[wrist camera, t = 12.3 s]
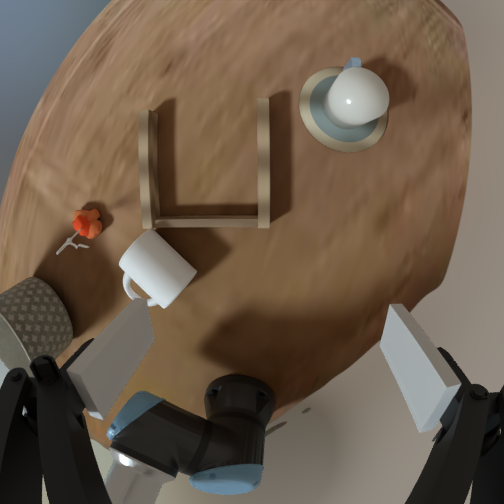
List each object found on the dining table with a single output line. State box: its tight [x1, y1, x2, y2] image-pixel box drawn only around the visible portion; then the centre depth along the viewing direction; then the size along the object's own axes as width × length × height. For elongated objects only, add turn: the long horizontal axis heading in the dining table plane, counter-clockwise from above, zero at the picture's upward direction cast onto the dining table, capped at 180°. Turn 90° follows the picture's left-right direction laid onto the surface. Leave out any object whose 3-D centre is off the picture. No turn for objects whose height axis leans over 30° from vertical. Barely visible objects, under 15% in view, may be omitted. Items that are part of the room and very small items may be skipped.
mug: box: [119, 229, 197, 308], centre depth 41 cm, size 12×10×8 cm
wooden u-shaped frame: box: [139, 98, 270, 228], centre depth 37 cm, size 18×19×4 cm
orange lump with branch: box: [56, 209, 102, 254], centre depth 38 cm, size 6×10×12 cm, turn 56°
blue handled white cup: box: [323, 57, 389, 130], centre depth 30 cm, size 7×9×9 cm
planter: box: [0, 277, 73, 377], centre depth 42 cm, size 19×19×18 cm
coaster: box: [299, 67, 387, 152], centre depth 34 cm, size 14×14×1 cm
